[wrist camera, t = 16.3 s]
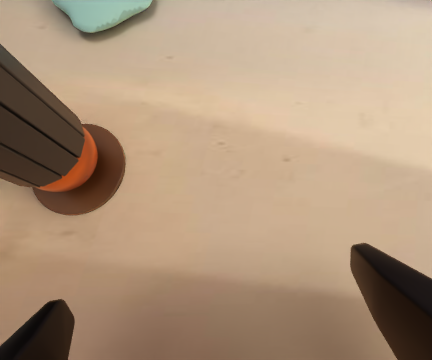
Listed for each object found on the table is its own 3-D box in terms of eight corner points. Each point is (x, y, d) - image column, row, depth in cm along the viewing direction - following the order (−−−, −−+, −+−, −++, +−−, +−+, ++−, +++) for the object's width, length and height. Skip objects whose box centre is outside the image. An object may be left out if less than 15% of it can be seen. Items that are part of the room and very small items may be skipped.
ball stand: (124, 211, 24) (88, 192, 18) (28, 219, 24) (-36, 203, 19) (126, 121, 26) (94, 80, 21) (39, 130, 27) (-16, 92, 21)
